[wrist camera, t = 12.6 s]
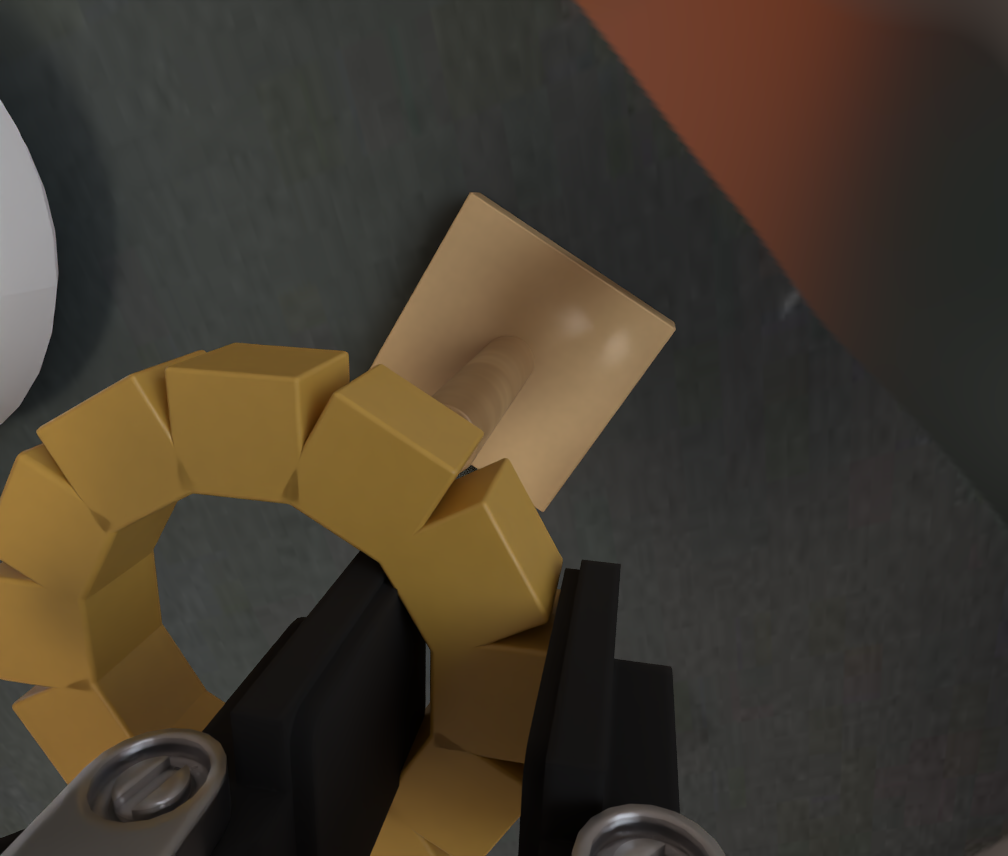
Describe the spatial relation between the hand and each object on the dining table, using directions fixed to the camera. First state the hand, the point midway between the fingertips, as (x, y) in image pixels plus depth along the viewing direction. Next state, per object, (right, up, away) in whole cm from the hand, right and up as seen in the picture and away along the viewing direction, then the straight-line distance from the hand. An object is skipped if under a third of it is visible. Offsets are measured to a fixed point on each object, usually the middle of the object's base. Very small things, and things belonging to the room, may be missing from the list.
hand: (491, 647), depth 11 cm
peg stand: (+1, +6, +20) cm, 21 cm away
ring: (-3, 0, +1) cm, 3 cm away
